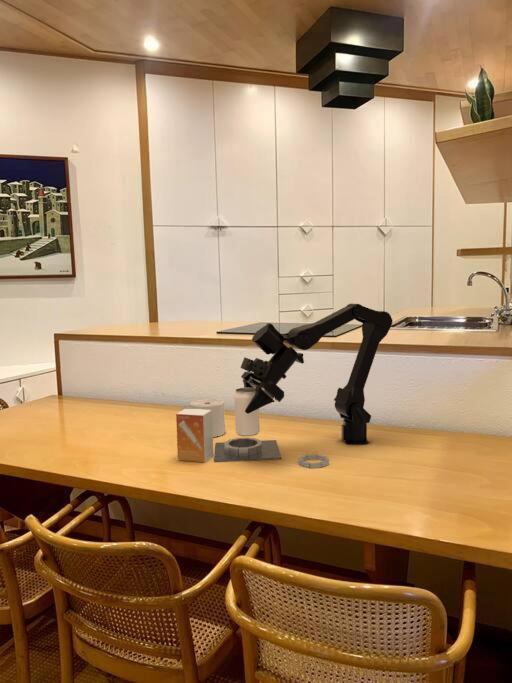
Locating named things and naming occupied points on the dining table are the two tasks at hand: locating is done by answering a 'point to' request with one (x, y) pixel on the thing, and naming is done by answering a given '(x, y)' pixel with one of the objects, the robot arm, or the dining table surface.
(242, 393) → the can
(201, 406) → the toilet tissue
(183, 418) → the small box
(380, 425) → the dining table surface
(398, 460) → the dining table surface
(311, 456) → the ring
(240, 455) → the ring seat
